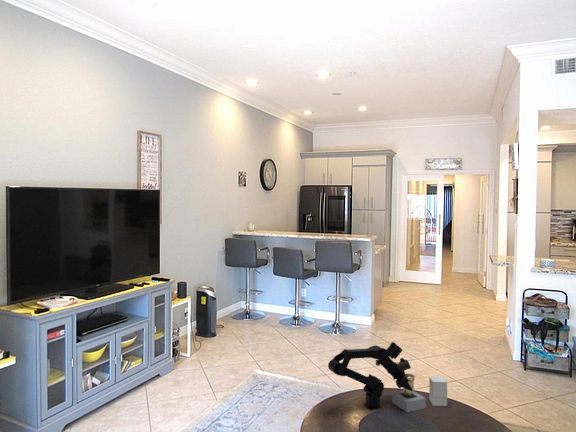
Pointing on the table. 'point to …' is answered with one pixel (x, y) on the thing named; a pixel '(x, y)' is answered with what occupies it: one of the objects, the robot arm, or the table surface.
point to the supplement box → (438, 391)
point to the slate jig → (409, 401)
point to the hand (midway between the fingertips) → (411, 388)
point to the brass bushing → (411, 378)
